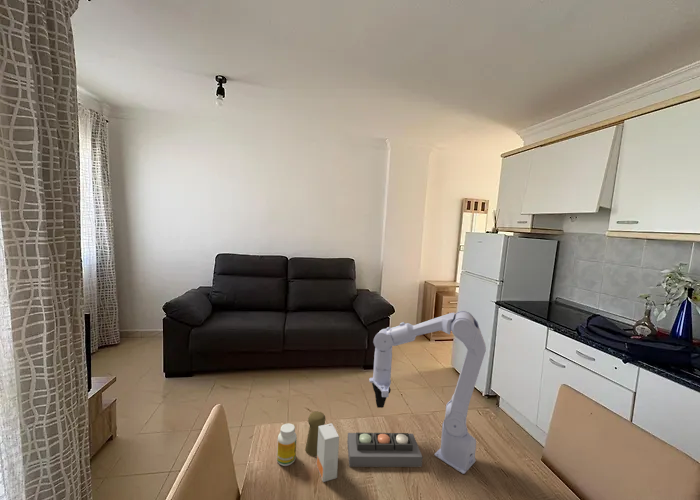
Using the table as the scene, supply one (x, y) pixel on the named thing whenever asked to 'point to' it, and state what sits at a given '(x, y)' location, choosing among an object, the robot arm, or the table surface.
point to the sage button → (365, 438)
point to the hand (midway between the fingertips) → (379, 406)
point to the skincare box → (327, 452)
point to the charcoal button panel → (383, 452)
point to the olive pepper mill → (314, 432)
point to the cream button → (401, 439)
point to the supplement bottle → (286, 445)
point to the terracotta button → (383, 439)
